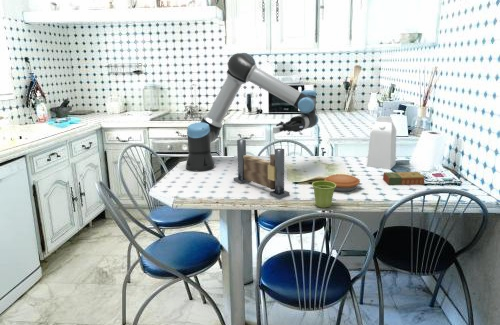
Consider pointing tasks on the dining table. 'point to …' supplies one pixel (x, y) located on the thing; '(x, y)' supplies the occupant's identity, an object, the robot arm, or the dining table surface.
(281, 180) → the gate posts
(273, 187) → the gate
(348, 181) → the pie
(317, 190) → the plant pot
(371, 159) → the milk
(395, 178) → the carton
